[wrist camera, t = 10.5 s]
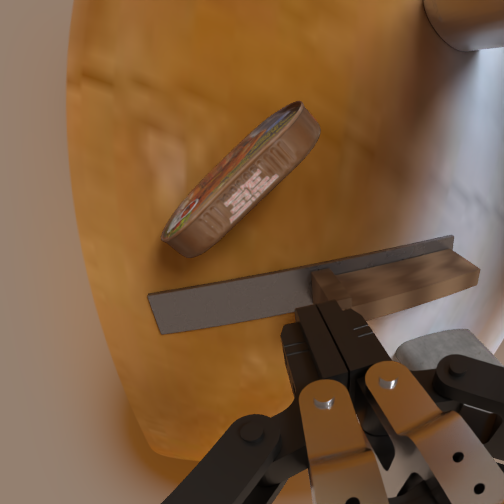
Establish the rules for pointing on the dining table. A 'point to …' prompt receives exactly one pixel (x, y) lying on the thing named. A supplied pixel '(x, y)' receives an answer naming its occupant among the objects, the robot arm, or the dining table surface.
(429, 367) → the hip flask
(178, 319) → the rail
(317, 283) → the brown wooden block
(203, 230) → the tin
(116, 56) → the dining table surface
